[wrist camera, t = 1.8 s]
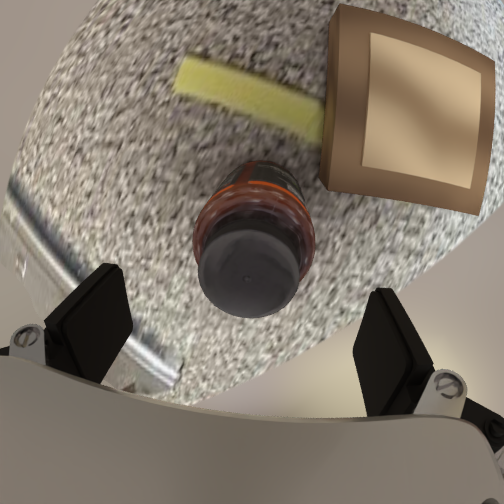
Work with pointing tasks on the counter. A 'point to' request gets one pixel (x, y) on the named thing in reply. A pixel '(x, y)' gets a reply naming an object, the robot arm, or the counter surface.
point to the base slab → (406, 113)
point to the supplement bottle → (254, 241)
